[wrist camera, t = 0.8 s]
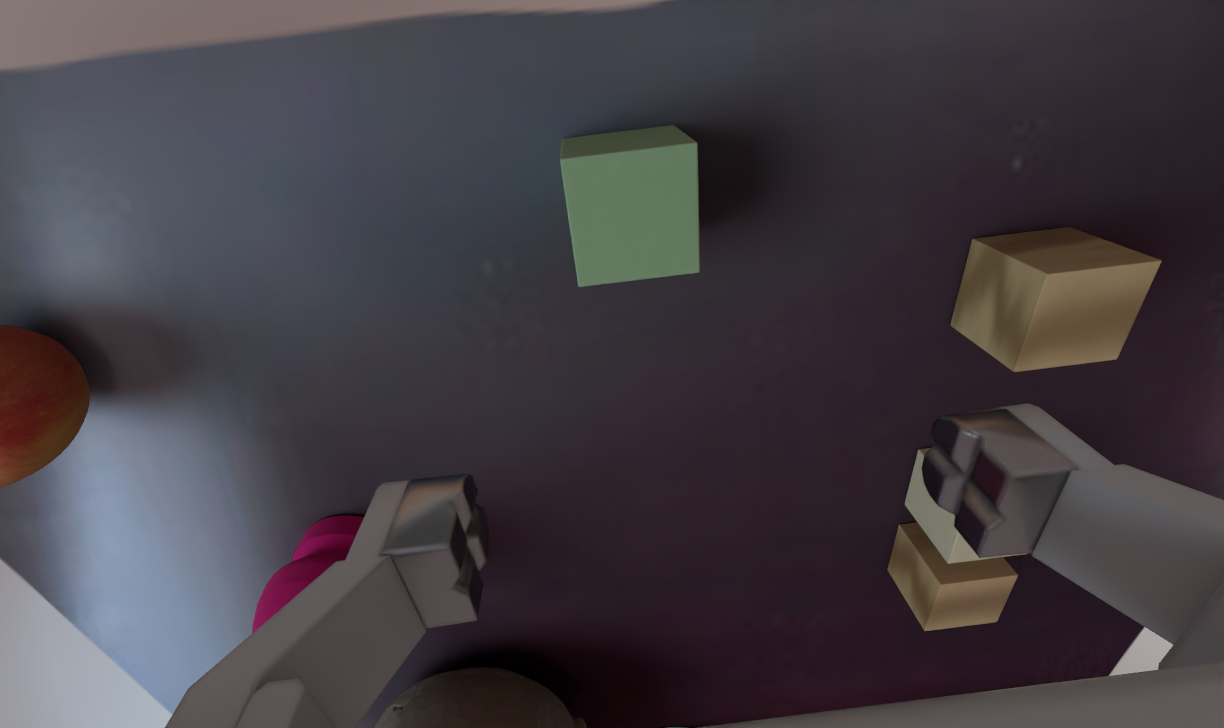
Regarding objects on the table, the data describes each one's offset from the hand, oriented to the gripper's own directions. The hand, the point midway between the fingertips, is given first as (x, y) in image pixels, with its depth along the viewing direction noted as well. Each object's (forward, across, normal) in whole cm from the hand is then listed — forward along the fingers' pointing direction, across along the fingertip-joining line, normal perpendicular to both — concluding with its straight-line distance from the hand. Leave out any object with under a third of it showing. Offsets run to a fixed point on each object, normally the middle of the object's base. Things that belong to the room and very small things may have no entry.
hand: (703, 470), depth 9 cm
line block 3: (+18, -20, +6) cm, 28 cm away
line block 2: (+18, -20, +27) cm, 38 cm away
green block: (+18, 0, -1) cm, 18 cm away
